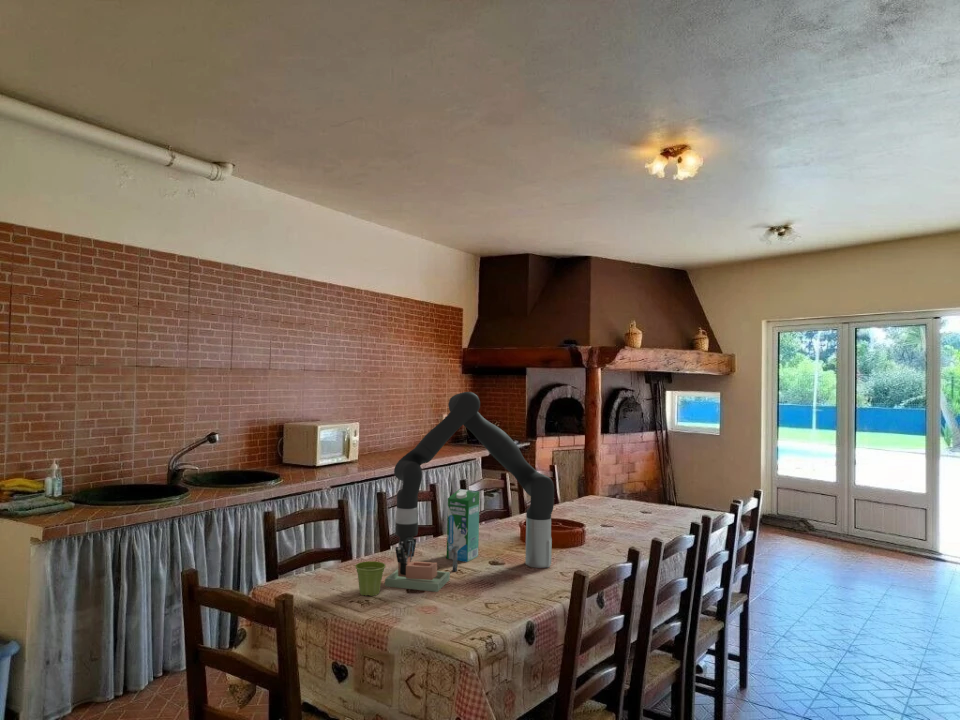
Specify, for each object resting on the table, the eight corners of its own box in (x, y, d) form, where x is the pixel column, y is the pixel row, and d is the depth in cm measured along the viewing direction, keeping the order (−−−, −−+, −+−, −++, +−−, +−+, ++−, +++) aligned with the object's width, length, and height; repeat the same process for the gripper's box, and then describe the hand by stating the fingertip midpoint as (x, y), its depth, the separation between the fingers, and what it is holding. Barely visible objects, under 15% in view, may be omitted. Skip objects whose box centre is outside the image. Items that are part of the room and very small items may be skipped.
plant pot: (371, 586, 201) (371, 559, 201) (391, 592, 195) (391, 565, 195) (348, 593, 193) (349, 565, 194) (368, 600, 187) (368, 571, 188)
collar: (437, 574, 206) (437, 556, 207) (431, 580, 201) (431, 561, 201) (402, 572, 209) (402, 554, 210) (396, 577, 204) (396, 559, 204)
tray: (449, 579, 209) (449, 572, 209) (437, 591, 196) (437, 584, 196) (399, 574, 213) (400, 567, 213) (385, 586, 201) (385, 578, 201)
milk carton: (446, 558, 234) (447, 492, 234) (458, 552, 242) (459, 488, 242) (467, 562, 229) (468, 494, 230) (478, 556, 237) (479, 490, 238)
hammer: (458, 569, 221) (459, 546, 221) (455, 573, 216) (455, 549, 216) (454, 568, 221) (455, 545, 221) (450, 572, 216) (451, 549, 217)
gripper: (409, 526, 199) (408, 580, 198) (424, 517, 213) (423, 567, 212) (388, 524, 201) (386, 578, 200) (403, 515, 214) (402, 565, 214)
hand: (405, 572), depth 206 cm, fingers closed on collar, 2 cm apart
